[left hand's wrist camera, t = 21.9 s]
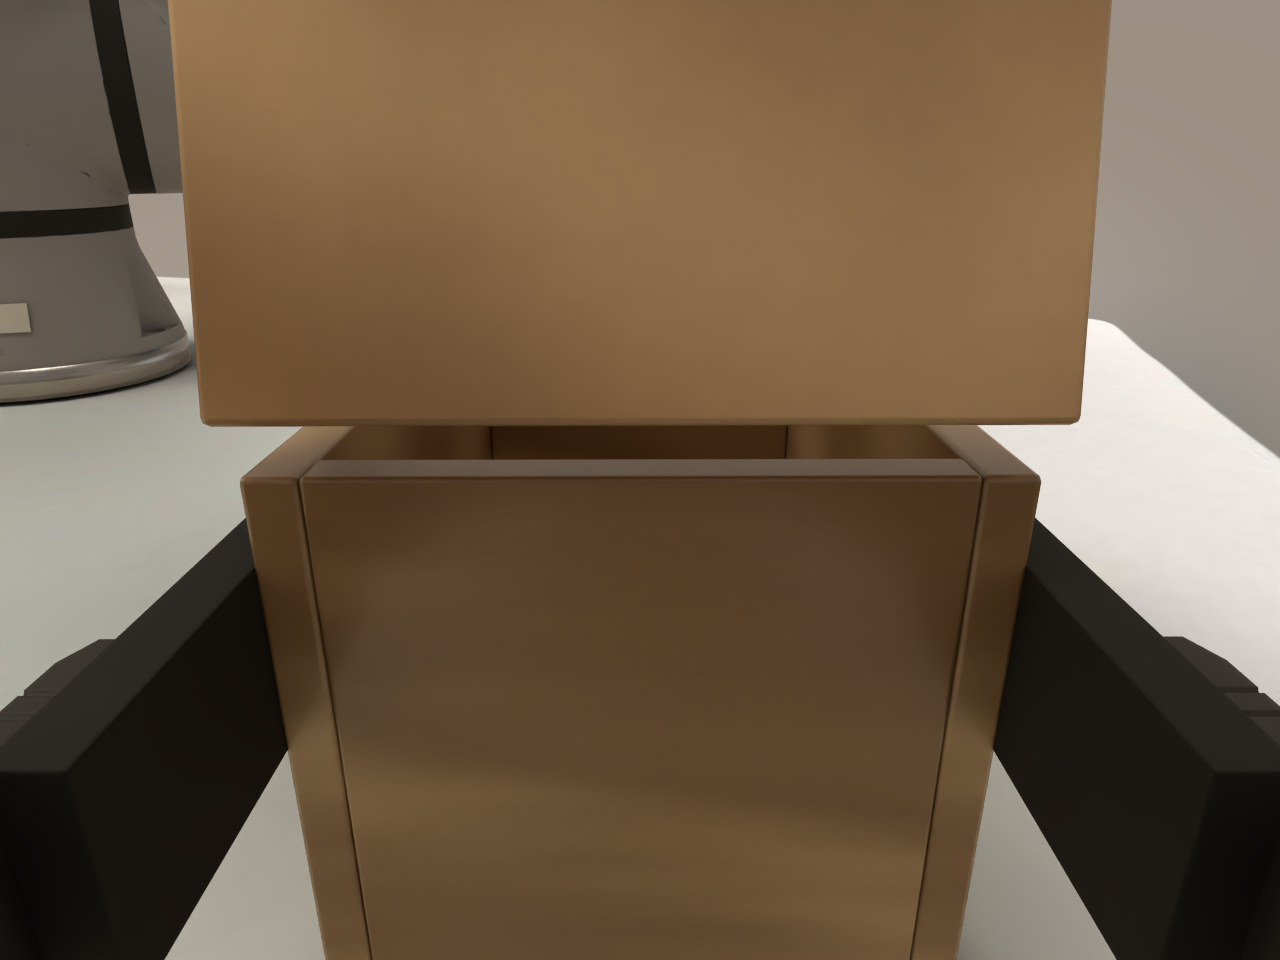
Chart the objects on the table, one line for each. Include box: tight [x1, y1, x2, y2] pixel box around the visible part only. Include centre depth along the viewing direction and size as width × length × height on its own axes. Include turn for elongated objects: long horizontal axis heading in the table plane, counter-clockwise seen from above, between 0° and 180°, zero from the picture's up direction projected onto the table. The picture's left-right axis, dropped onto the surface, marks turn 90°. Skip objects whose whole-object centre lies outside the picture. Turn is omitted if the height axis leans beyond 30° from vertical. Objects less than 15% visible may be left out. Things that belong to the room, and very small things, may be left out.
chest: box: [240, 425, 1041, 960], centre depth 18 cm, size 13×9×10 cm
